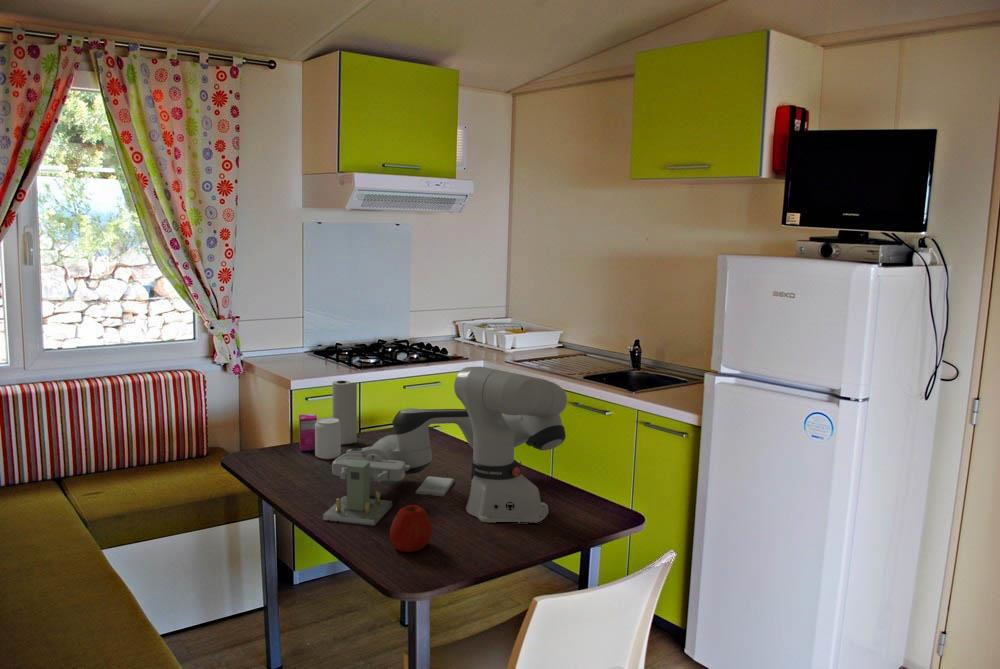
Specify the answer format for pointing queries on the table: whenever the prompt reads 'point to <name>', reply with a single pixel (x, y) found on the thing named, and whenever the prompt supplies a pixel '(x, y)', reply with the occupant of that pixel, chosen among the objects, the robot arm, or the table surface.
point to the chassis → (366, 517)
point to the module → (358, 485)
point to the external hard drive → (435, 486)
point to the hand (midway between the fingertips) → (359, 478)
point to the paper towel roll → (346, 409)
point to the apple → (411, 529)
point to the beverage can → (327, 438)
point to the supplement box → (307, 432)
